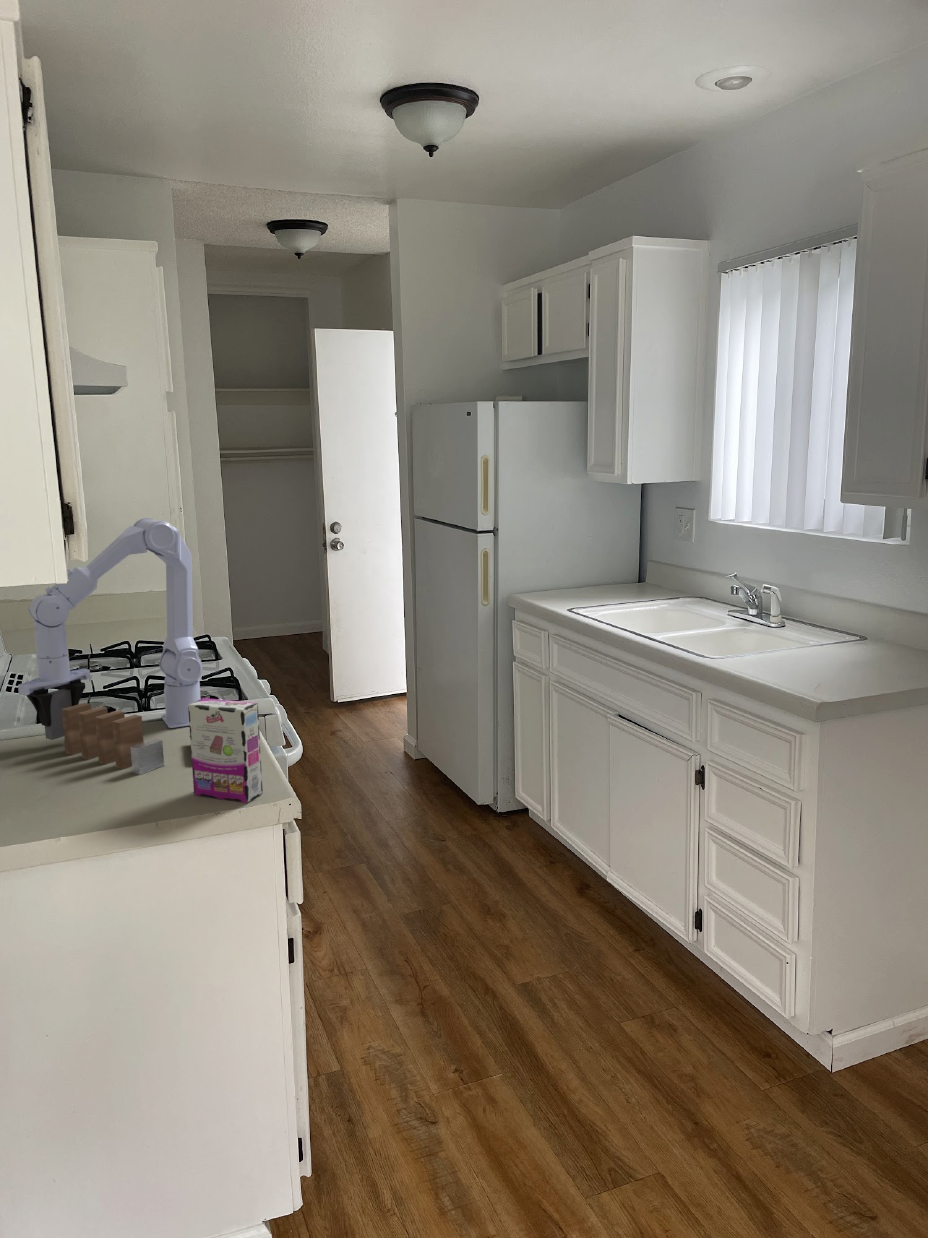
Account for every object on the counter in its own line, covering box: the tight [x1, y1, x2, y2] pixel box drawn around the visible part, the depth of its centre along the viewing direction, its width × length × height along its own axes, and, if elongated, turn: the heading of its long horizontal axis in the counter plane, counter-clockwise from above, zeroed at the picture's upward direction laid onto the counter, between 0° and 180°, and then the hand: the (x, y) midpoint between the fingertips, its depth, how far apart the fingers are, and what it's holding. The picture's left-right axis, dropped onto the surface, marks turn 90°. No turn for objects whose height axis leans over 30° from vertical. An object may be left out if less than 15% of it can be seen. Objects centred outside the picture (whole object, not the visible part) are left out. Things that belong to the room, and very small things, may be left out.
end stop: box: [131, 738, 165, 776], centre depth 172 cm, size 2×6×5 cm, turn 148°
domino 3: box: [78, 706, 109, 761], centre depth 180 cm, size 2×5×9 cm, turn 148°
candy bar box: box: [188, 697, 264, 804], centre depth 159 cm, size 11×5×16 cm, turn 70°
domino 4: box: [95, 710, 126, 765], centre depth 177 cm, size 2×5×9 cm, turn 148°
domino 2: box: [62, 702, 92, 756], centre depth 182 cm, size 2×5×9 cm, turn 148°
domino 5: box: [112, 714, 145, 770], centre depth 174 cm, size 2×5×9 cm, turn 148°
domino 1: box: [44, 688, 72, 741], centre depth 185 cm, size 2×5×9 cm, turn 148°
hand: (59, 721), depth 185 cm, fingers closed on domino 1, 5 cm apart
